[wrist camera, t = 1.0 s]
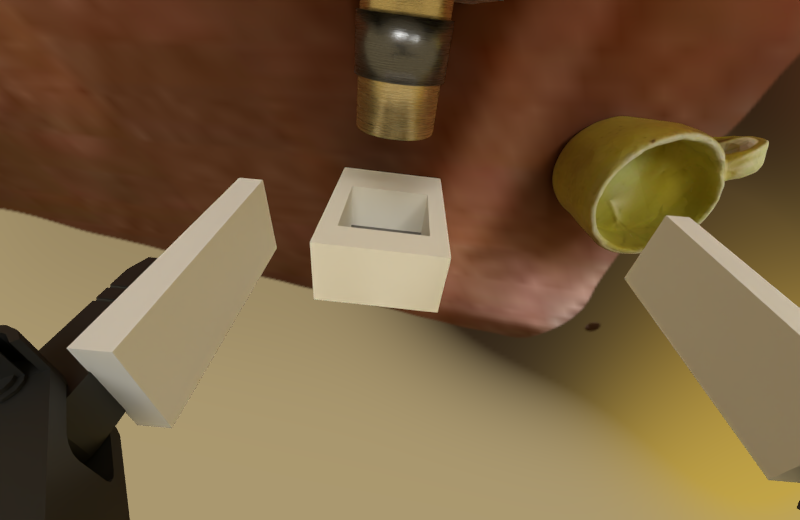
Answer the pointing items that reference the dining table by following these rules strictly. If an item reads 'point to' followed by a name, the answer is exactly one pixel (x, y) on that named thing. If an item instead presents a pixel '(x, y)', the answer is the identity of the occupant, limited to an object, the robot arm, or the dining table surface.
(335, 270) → the socket block
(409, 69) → the tube
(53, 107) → the dining table surface
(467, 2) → the pale grey box
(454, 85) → the dining table surface
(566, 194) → the mug
